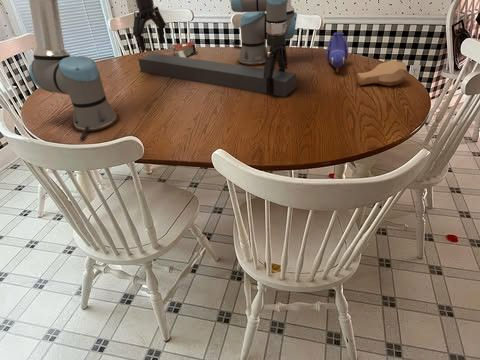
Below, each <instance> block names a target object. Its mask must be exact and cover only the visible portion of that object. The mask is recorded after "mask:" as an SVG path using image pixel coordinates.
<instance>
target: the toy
mask: <svg viewBox="0 0 480 360" xmlns="http://www.w3.org/2000/svg"><path fill="white" fill-rule="evenodd" d="M344 34H345V33H344V32H342V31H341V32H339V33H338V32H333V34H332V35H333V36H332V37H330V38H329V40H328V42H327V47H326V60H327V61H328V62H329V63H330V65H332V66H333V68H335V71H336V74H338V72H339V70H340V69H339V68H342V66H343V65H344V64H345V62H346V60H348V58H349V57H348V56H349V44H348V40H347V38H346V36H343V35H344Z"/></svg>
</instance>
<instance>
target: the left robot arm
mask: <svg viewBox="0 0 480 360" xmlns="http://www.w3.org/2000/svg"><path fill="white" fill-rule="evenodd" d="M28 3H29V9H30V15H31V20H32V26H33V33H34V38H35V44H36V50H35V51H34V52H33V53H32V55H33V60H32V61H31V62H30V63H31V64H30V65H29V68H28V72H29V77H30V79H31V81H32V82H33V84H34V85H35V86H37V88H39V89H41V90H43V91H46V92H49V93H56V94H61V95H62V94H63V95H67V96H69V99H70V101H71V104H72V108H73V114H72V117H73V118H72V119H73V125H74V128H75V129H76V131H78V132H82V134H81V136H80V138H79V139H80V140H81V141H83V140H84V139H85V137H86V134H87V133H92V132H99V131H102V130H105V129H107V128H110V127H111V126H113V125H115V124H116V122H117V121H118V116H117V113H116V111H115V110H114V108H113V107H112V105H111V103H110V102H109V101H108V99H107V96H106V92H105V89H104V85H103V81H102V77H101V73H100V70H99V68H98V66H97V64H96V62H95V60H94V59H92V58H90V57H88V56H83V55H78V56H76V55H71V54H70V52H68V51H67V50H66V48H65V44H64V43H65V42H64V36H63V29H62V22H61V16H60V8H59V1H58V0H28ZM135 4H136V8H137V9H138V11H134V12H133V27H132V36H133V37H136V39H137V43H138V44H139V49H140V51H143V52H145V51H147V47H146V42H145V37H144V35H143V32H144V29H145V26H146V23H147V21H152V22H153V23H154V24H155V25H156V27H157V35H158V39H159V43H160V44H166V40H165V39H166V38H165V31H164V29H165V28H166V26H167V24H166V22H165V20H164V18H163V16H162V14H161V12H160V8H159V6H155V4H154V0H135Z"/></svg>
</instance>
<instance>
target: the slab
mask: <svg viewBox="0 0 480 360" xmlns="http://www.w3.org/2000/svg"><path fill="white" fill-rule="evenodd" d="M137 60H138V64H139V69H140V72H141V73H148V74H153V75H158V76H165V77H168V78H169V77H170V78H175V79H182V80H187V81H193V82H199V83H204V84H210V85H216V86H221V87H226V88H232V89H237V90H244V91H248V92H255V93H260V94H267V95H269V94H268V93H267V79H266V78H263V76H264V68H261V67H254V66H249V65H242V64H235V63H234V64H233V63H227V62H219V61H213V60H205V59H200V58H199V59H198V58H192V57H187V58H185V57H178V56H176V55H171V54H165V53H164V54H163V53H157V52H150V53H149V54H145V55H144V56H141V57H139V58H138V59H137ZM272 78H273V94H270V95H271V96H277V97H282V98H283V97H284V98H286V97H287V96H289V94H290V93H291V92H294V90H295V89H296V84H297V83H296V82H297V73H295V72H289V71H285V72H283V71H278V70H275V69H274V72H273V76H272Z"/></svg>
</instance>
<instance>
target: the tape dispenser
mask: <svg viewBox="0 0 480 360" xmlns="http://www.w3.org/2000/svg"><path fill="white" fill-rule="evenodd" d="M170 46H171V51H172V53H173V56H178V57H185V58H188V56H191V55H194V54H196V53H197V52H196V44H195V42H194V41H188V42H182V43H181V42H180V43H175V44H171V45H170Z"/></svg>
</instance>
